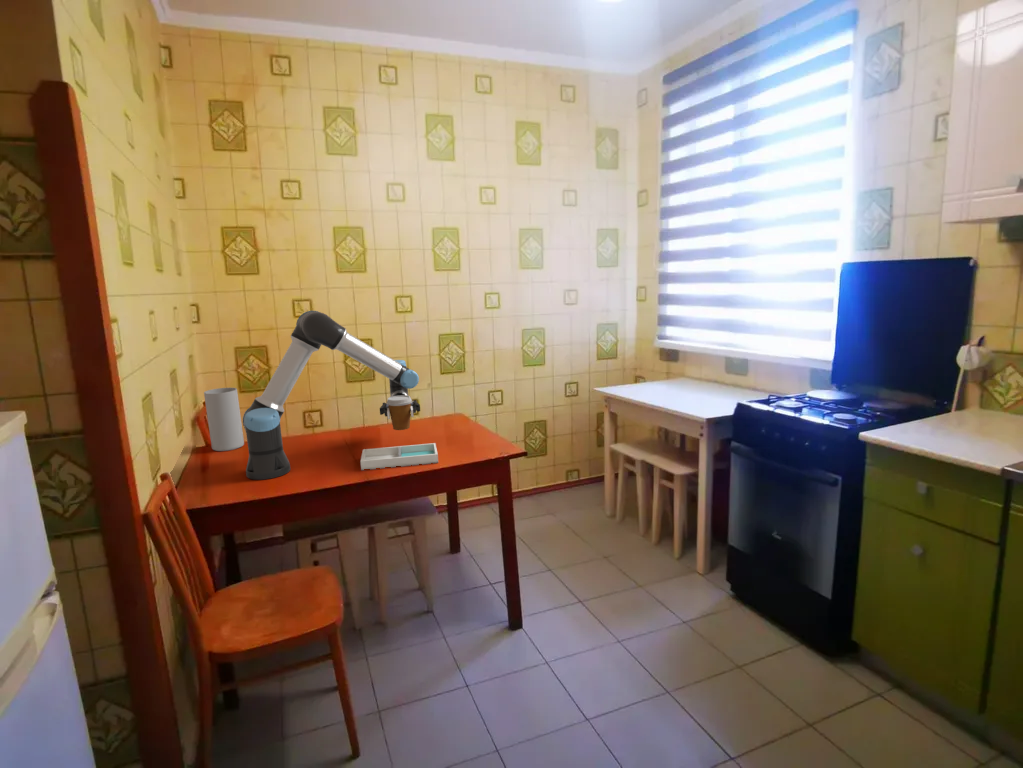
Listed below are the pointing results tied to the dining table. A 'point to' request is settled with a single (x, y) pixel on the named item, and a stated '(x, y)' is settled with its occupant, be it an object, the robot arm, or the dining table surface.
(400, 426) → the disposable coffee cup
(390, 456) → the divided tray
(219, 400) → the cylinder vase
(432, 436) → the dining table surface
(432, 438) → the dining table surface
